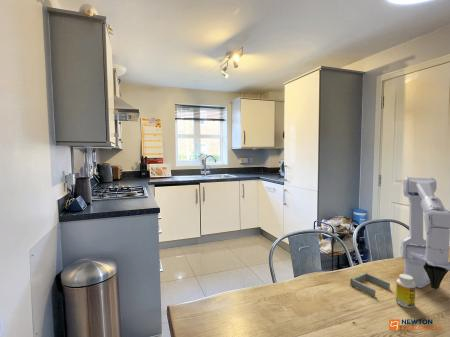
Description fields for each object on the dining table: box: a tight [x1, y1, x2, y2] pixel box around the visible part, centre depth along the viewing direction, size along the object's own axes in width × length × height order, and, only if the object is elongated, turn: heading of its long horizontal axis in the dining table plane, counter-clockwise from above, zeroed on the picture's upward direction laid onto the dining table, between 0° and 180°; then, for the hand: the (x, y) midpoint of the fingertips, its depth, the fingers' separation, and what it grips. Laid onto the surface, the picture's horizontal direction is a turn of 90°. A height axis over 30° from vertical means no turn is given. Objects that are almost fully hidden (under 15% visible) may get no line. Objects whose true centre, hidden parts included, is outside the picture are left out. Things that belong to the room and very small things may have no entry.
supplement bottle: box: [395, 273, 417, 309], centre depth 89 cm, size 6×6×10 cm
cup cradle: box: [349, 272, 391, 298], centre depth 101 cm, size 11×10×2 cm
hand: (435, 287), depth 81 cm, fingers closed
